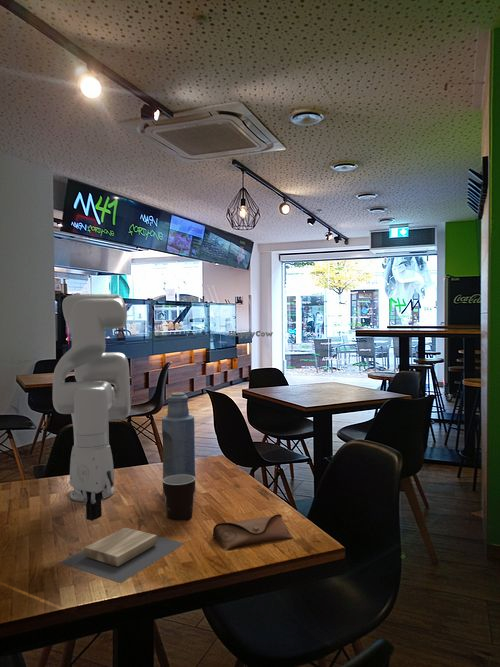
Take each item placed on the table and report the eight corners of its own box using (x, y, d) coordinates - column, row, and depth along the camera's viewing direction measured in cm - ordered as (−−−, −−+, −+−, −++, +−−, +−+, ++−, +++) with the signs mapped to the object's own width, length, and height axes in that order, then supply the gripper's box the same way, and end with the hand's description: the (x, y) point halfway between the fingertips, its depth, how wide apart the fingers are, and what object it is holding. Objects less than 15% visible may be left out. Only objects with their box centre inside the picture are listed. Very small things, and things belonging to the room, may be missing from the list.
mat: (59, 563, 108) (59, 562, 108) (127, 529, 125) (127, 528, 125) (120, 585, 98) (120, 583, 98) (184, 545, 116) (184, 543, 116)
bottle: (157, 491, 153) (154, 393, 152) (185, 484, 159) (183, 389, 158) (172, 500, 145) (170, 396, 144) (201, 492, 151) (199, 393, 150)
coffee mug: (190, 524, 127) (189, 485, 127) (158, 522, 129) (157, 484, 129) (203, 507, 139) (202, 471, 138) (173, 506, 140) (173, 470, 140)
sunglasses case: (223, 552, 112) (218, 520, 115) (215, 556, 117) (211, 526, 120) (296, 538, 118) (290, 509, 121) (285, 542, 124) (279, 514, 127)
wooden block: (84, 547, 109) (117, 556, 104) (124, 527, 120) (156, 535, 115) (84, 558, 109) (118, 568, 104) (124, 537, 120) (156, 545, 115)
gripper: (56, 439, 116) (58, 518, 117) (103, 447, 109) (105, 530, 110) (81, 433, 123) (84, 507, 124) (127, 439, 116) (129, 518, 116)
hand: (94, 518), depth 117 cm, fingers closed
